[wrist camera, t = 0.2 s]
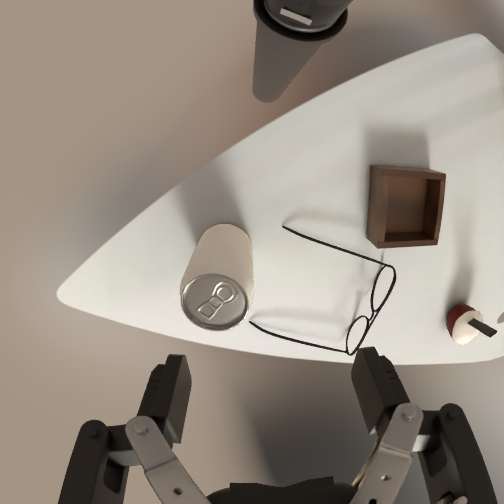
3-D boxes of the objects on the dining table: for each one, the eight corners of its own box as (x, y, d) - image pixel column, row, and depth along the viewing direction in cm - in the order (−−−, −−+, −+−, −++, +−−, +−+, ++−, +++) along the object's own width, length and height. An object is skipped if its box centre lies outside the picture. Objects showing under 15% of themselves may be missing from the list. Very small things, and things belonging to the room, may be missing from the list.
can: (263, 246, 34) (270, 302, 23) (228, 282, 35) (220, 346, 24) (222, 211, 32) (208, 252, 21) (187, 250, 34) (161, 305, 23)
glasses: (344, 340, 40) (349, 362, 35) (250, 315, 40) (246, 336, 35) (387, 257, 34) (401, 273, 30) (282, 221, 34) (283, 233, 30)
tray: (370, 164, 30) (383, 168, 26) (430, 169, 30) (446, 173, 26) (366, 237, 33) (377, 248, 30) (423, 235, 33) (437, 245, 30)
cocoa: (460, 328, 40) (492, 369, 29) (436, 336, 41) (467, 381, 30) (473, 285, 37) (514, 323, 26) (449, 291, 37) (490, 334, 26)
